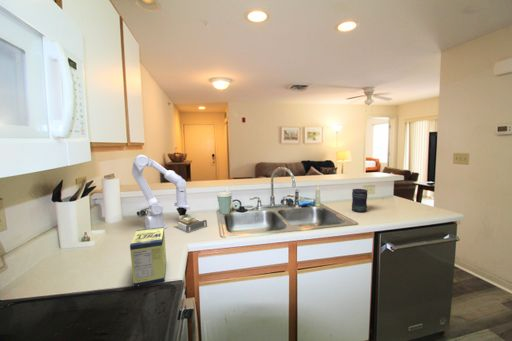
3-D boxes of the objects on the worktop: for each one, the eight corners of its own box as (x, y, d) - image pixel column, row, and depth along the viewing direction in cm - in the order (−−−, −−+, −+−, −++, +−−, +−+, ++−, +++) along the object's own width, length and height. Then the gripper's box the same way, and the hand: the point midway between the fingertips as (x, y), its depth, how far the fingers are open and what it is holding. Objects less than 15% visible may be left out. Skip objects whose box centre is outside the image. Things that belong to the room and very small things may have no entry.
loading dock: (187, 234, 130) (187, 226, 130) (172, 227, 142) (171, 219, 141) (206, 227, 140) (206, 220, 139) (190, 221, 151) (190, 214, 151)
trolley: (187, 227, 136) (187, 218, 136) (179, 224, 142) (178, 216, 142) (197, 224, 142) (197, 215, 141) (188, 221, 147) (188, 213, 147)
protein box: (166, 261, 100) (164, 226, 98) (165, 281, 85) (162, 241, 83) (139, 265, 97) (136, 229, 95) (133, 288, 82) (129, 245, 80)
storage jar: (369, 212, 161) (370, 191, 159) (354, 213, 161) (355, 191, 159) (362, 208, 171) (363, 188, 169) (349, 208, 171) (350, 188, 169)
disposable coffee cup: (217, 215, 160) (216, 194, 158) (217, 211, 170) (216, 191, 168) (233, 214, 162) (232, 193, 160) (231, 210, 172) (231, 190, 170)
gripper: (193, 198, 142) (194, 219, 144) (181, 194, 151) (182, 215, 153) (183, 200, 137) (184, 222, 138) (170, 196, 146) (172, 217, 148)
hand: (182, 219), depth 145 cm, fingers closed
